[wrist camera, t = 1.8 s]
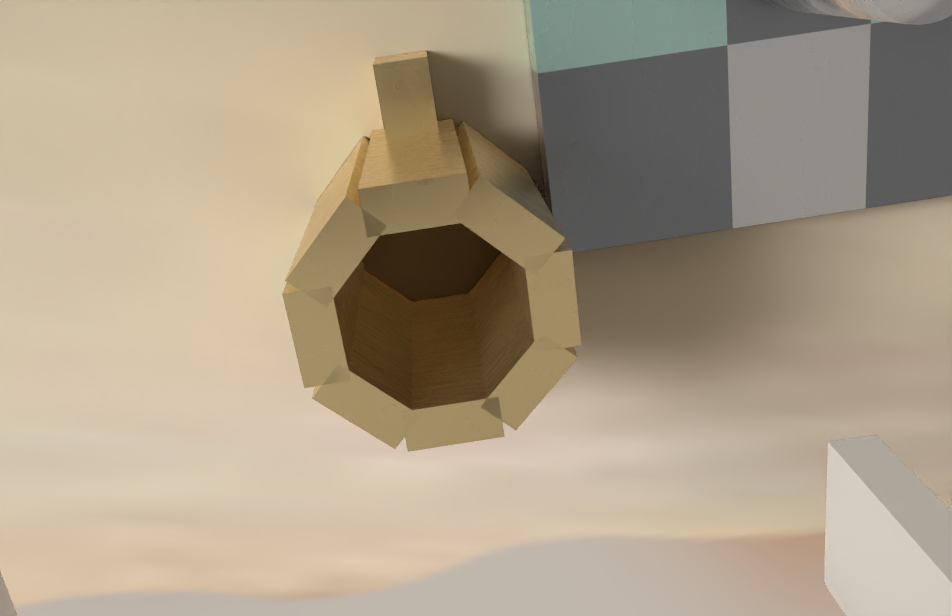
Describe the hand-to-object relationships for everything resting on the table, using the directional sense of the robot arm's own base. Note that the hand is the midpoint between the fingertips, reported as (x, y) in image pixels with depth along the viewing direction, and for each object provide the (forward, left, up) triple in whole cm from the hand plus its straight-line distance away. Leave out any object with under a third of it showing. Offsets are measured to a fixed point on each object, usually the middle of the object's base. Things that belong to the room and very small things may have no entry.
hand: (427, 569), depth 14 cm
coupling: (-1, 0, -17) cm, 17 cm away
